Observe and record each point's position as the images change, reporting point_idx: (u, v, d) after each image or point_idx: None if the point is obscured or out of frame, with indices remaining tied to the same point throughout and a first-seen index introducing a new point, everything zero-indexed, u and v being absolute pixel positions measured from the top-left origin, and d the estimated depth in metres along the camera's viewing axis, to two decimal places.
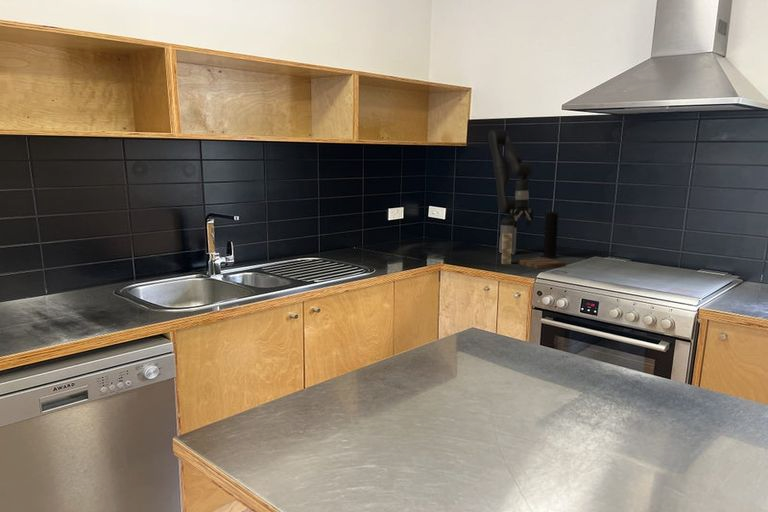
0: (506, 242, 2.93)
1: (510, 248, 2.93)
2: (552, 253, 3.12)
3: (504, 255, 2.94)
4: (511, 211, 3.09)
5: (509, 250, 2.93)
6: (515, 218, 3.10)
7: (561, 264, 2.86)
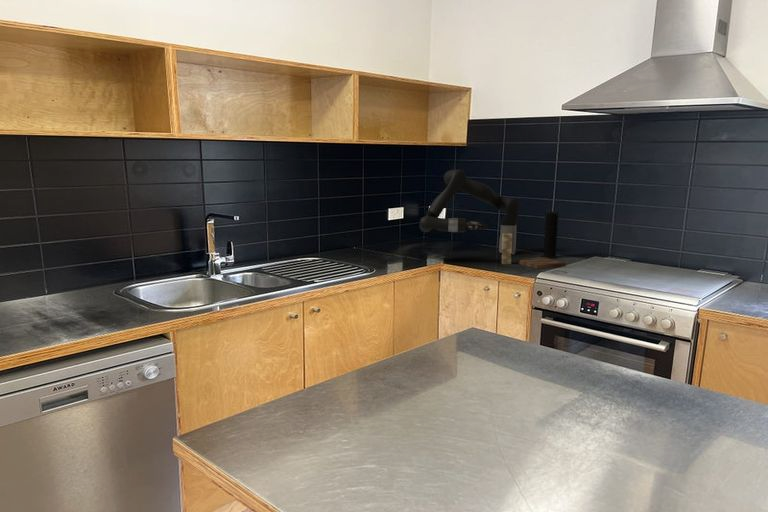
0: (506, 242, 2.93)
1: (510, 248, 2.93)
2: (552, 253, 3.12)
3: (504, 255, 2.94)
4: None
5: (509, 250, 2.93)
6: None
7: (561, 264, 2.86)
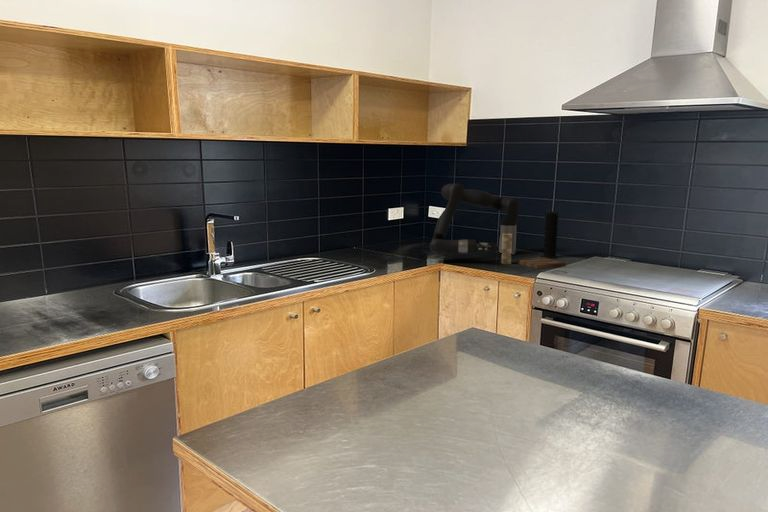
0: (506, 242, 2.93)
1: (510, 248, 2.93)
2: (552, 253, 3.12)
3: (504, 255, 2.94)
4: None
5: (509, 250, 2.93)
6: (486, 247, 3.01)
7: (561, 264, 2.86)
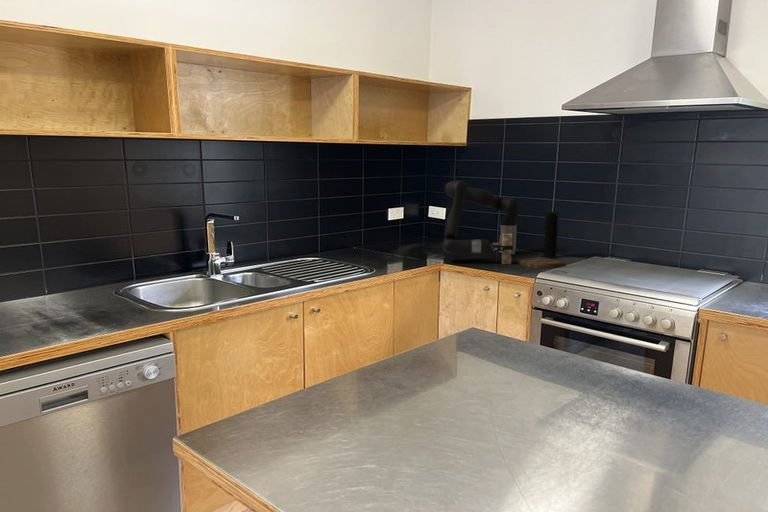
0: (506, 242, 2.93)
1: None
2: (552, 253, 3.12)
3: (504, 255, 2.94)
4: None
5: (509, 250, 2.93)
6: (501, 247, 2.99)
7: (561, 264, 2.86)
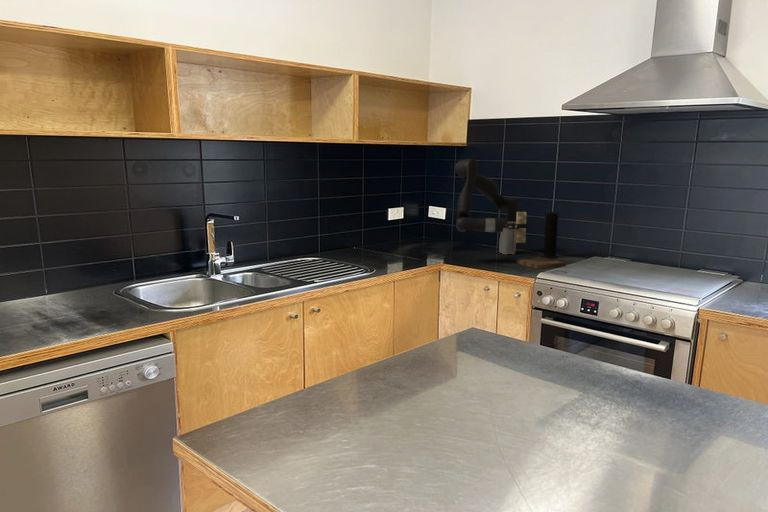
0: (520, 221, 2.89)
1: None
2: (552, 253, 3.12)
3: (518, 233, 2.90)
4: None
5: (523, 228, 2.90)
6: (515, 226, 2.95)
7: (561, 264, 2.86)
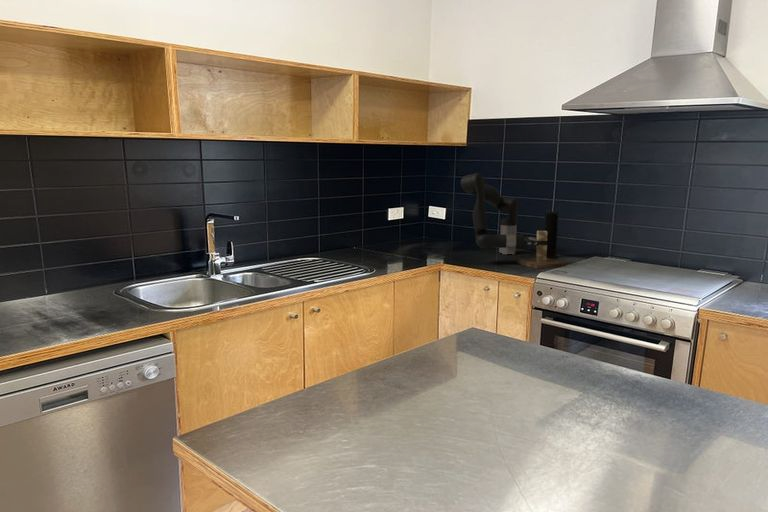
0: (541, 240, 2.88)
1: (545, 245, 2.89)
2: (552, 253, 3.12)
3: (539, 252, 2.89)
4: None
5: (544, 247, 2.89)
6: None
7: (561, 264, 2.86)
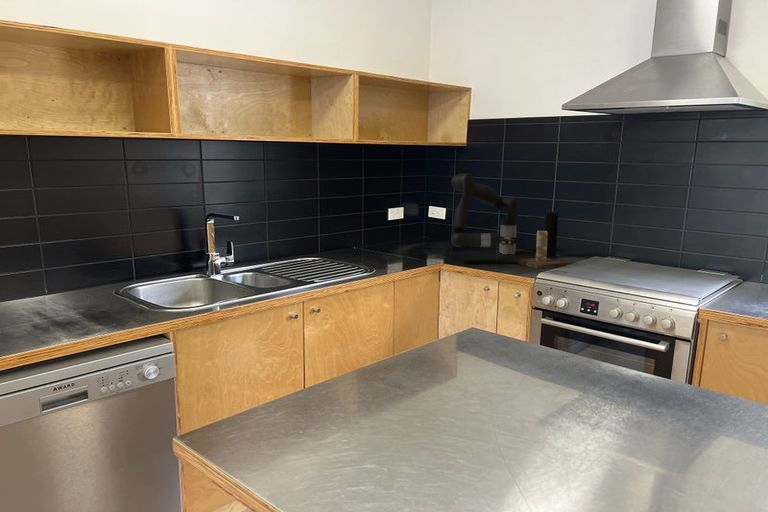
0: (541, 240, 2.88)
1: (545, 245, 2.89)
2: (552, 253, 3.12)
3: (539, 252, 2.89)
4: None
5: (544, 248, 2.89)
6: None
7: (561, 264, 2.86)
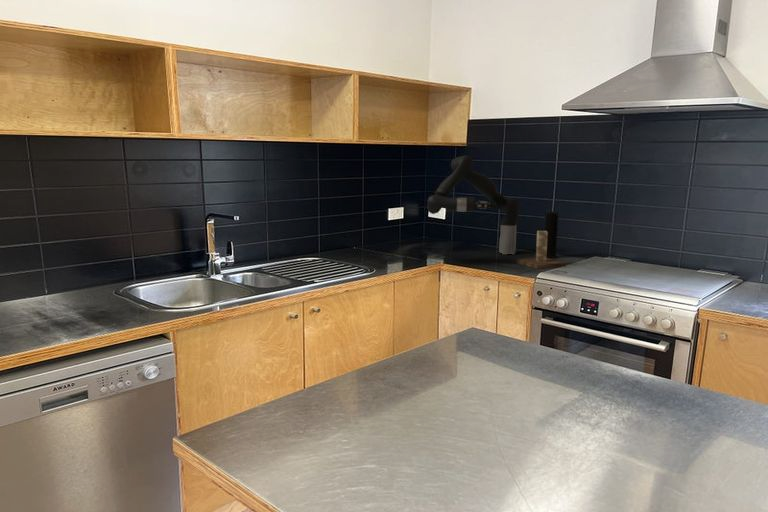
0: (541, 240, 2.88)
1: (545, 245, 2.89)
2: (552, 253, 3.12)
3: (539, 252, 2.89)
4: None
5: (544, 248, 2.89)
6: None
7: (561, 264, 2.86)
